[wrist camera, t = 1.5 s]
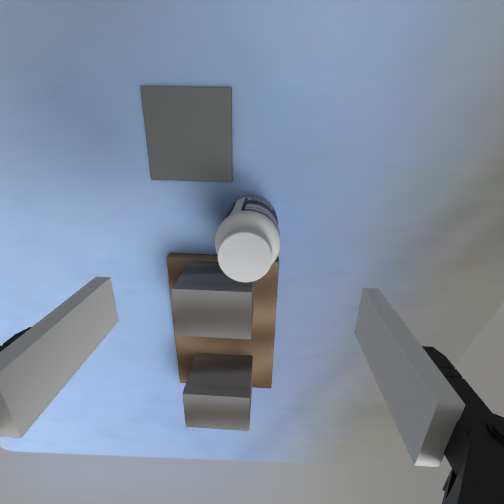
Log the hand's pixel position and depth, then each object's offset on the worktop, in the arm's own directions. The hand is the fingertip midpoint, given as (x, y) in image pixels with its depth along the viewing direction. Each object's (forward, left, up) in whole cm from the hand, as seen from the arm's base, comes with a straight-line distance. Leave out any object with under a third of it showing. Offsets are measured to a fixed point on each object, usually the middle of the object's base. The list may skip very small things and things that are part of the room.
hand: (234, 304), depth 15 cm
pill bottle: (0, 0, -16) cm, 16 cm away
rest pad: (-8, -6, -15) cm, 18 cm away
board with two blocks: (+13, -3, -15) cm, 20 cm away
